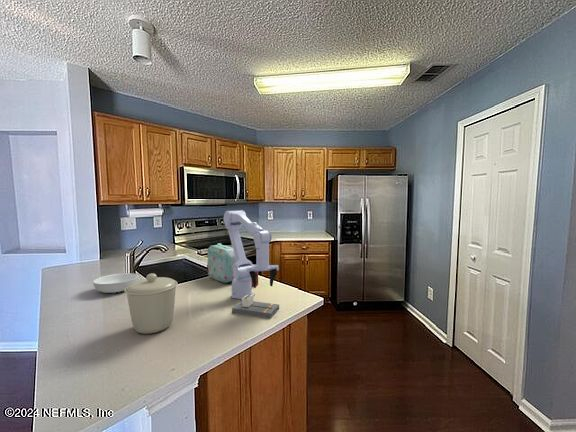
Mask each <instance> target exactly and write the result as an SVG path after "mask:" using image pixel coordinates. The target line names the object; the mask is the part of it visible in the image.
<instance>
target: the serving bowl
mask: <svg viewBox="0 0 576 432" xmlns="http://www.w3.org/2000/svg"><path fill="white" fill-rule="evenodd" d="M139 277H140V276H139V275H138V274H137V273H134V272H133V273H131V272H130V273H129V272H128V273H127V272H126V273H124V272H123V273H113V274H107V275H104V276H100V277H98V278H95V279H93V280H92V284H93V287H94V288H95V290H97V291H99V292H101V293H106V294H107V293H108V294H115V293H116V292H118V293H121V291H122V292H125V291H124V290H125V288H126V287H128V286H129V285H130V284H132V283H134V282H136V281H139Z"/></svg>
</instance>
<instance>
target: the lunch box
mask: <svg viewBox="0 0 576 432" xmlns="http://www.w3.org/2000/svg"><path fill="white" fill-rule="evenodd" d="M235 262H236V259H235V255H234V251H233V247H232V246H228V245H223V244H222V243H221V242H220V243H217V244H214V245H210V246H208V248H207V264H206V270H207V275H208V276H209V278H211V279H213V280H215V281H218V282H221V283H224V284H227V283H232V281H233V280H234V279H235V278H234V276H233V268H232V266H233V265H234V263H235Z"/></svg>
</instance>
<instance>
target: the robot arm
mask: <svg viewBox="0 0 576 432" xmlns="http://www.w3.org/2000/svg"><path fill="white" fill-rule="evenodd" d="M223 221H224V225H225V228H226V229H227V232H228V235H229V238H230V243H231V247H232V248H233V251H234V255H235V259H236V262H235V263H234V265H233V266H232V268H233V276H234V278H235V279H234V280H233V281H232V282H231V296H230V298H231V299H238V300H239V299H240V300H242V298H243V297H245V296H246V295H249V294H251V295H253V297H254V296H255V293H254V292H253V291H252V289H253V288H254V289H256V288H257V286H256V274H255V272H258V273H259V272H267V271H268V272H269V286H270V287H273V286H274V285H273V284H274V280H275V279H276V276H277V274H278V271H279V270H280V267H279V265H278V264H270V243H271V241H272V233H271V232H270V230H269V229H263V227H261V225H259V224H258V222H256V221H255V222H254V221H251V220H250V219H249V218H248V217H247V213H246V212H245V211H244V210H243V209H240V210H226V211H225V212H224V214H223ZM242 226H244V227H245V228H246V232H247V233H248V234H249V236H251V237H253V242H254V247H255V248H256V249H255V250H256V252H255V253H256V254H255V255H256V259H255V261H256V264H255V265H256V266H254V267H253V265H252V264H253V262H252V261H251V260H249V259H248V258H247V257H246V253H245V249H244V246H243V245H244V244H243V241H242V238H241V234H240V228H242ZM251 279H252V281H253V286H254V287H252V285H251Z"/></svg>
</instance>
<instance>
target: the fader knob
mask: <svg viewBox="0 0 576 432" xmlns="http://www.w3.org/2000/svg"><path fill="white" fill-rule="evenodd" d="M241 301H242V306H243V307H249V306H250V305H251V304H253V301H254V296H253V295H251V294H249V295H246V296H245V297H243V298H242V299H241Z"/></svg>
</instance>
